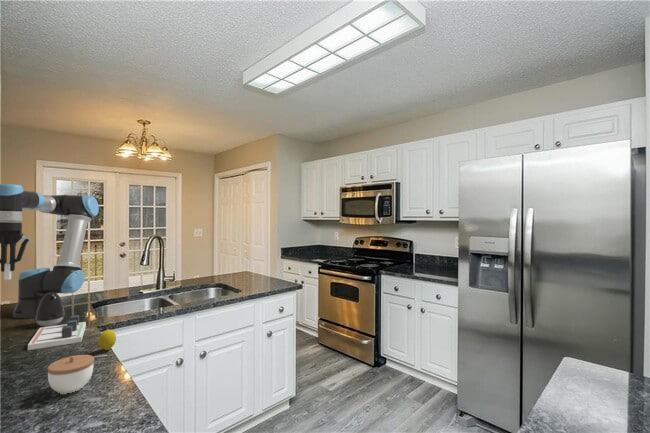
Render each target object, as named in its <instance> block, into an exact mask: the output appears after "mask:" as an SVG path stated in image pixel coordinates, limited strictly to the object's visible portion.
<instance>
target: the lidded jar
mask: <svg viewBox="0 0 650 433" xmlns="http://www.w3.org/2000/svg"><path fill="white" fill-rule="evenodd" d="M94 364H95V357H94V356H93V355H90V354H78V355H71V356H67V357H63V358H61V359H58V360H55V361H54V362H52V363H51V364H49V365H48V367H47V379H48V380H47V381H48V383H49V386H50V388H51V389H52V390H53V391H55V392H56V393H58V394H59V393H60V394H59V395H68V394H67V393H70V394H73V393H76V392H78V391H81V390H82V389H83V388H84V387H85V385H86V384H87V383H88V382H89V381H90V380H91V377H92V375H93V372H94V367H95V366H94ZM81 388H82V389H81ZM75 391H76V392H75ZM72 392H73V393H72Z"/></svg>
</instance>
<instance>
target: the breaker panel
mask: <svg viewBox="0 0 650 433" xmlns="http://www.w3.org/2000/svg"><path fill="white" fill-rule="evenodd" d="M65 326H67V323H66V324H60V325H59V324H57V325H54V326H50V327H43V326H41V327H39V328H38V330H37V332H36V333H35V334H34V336H33V337H32V338H31V339H30V341H29V342H28V344H27V351H32V350H38V349H44V348H45V349H46V348H49V347H50V348H51V347H57V346H63V345H64V346H65V345H69V344H70V345H71V344H77V343H81V342H82V340H83V338H84V337H83V336H84V334H85V330H86V328H87V322H86V321H82V322H79V324H78V325H77V329H76V330H73V331H72V336H70V337H63V338H62V328H63V327H65Z"/></svg>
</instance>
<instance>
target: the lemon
mask: <svg viewBox="0 0 650 433" xmlns="http://www.w3.org/2000/svg"><path fill="white" fill-rule="evenodd" d="M116 341H117V334H116V333H115V332H114V330H111V329H109V328H108V329H106V330H104V331H102V332H101V333H100V335H99V337H98V347H99V348H100V349H102V350H105V351H109V350H110V349H111V348H113V346H115V344H116Z"/></svg>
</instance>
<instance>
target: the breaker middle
mask: <svg viewBox="0 0 650 433" xmlns="http://www.w3.org/2000/svg"><path fill="white" fill-rule="evenodd" d="M66 324H67V326H72V331H73V330H76V329H77V320H72V321H70V320H68V321H67V322H66Z"/></svg>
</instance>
